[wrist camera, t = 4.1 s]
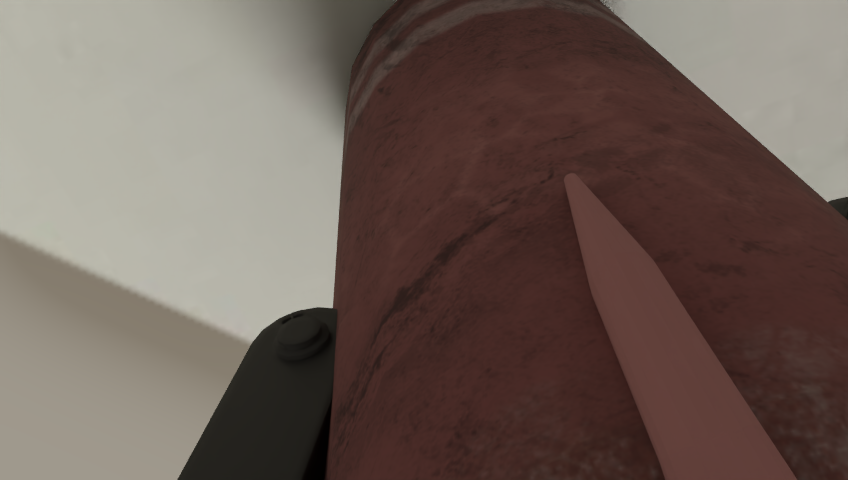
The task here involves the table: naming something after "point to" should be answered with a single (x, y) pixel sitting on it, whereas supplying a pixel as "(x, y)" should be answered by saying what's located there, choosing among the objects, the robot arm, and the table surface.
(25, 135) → the table surface
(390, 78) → the can
